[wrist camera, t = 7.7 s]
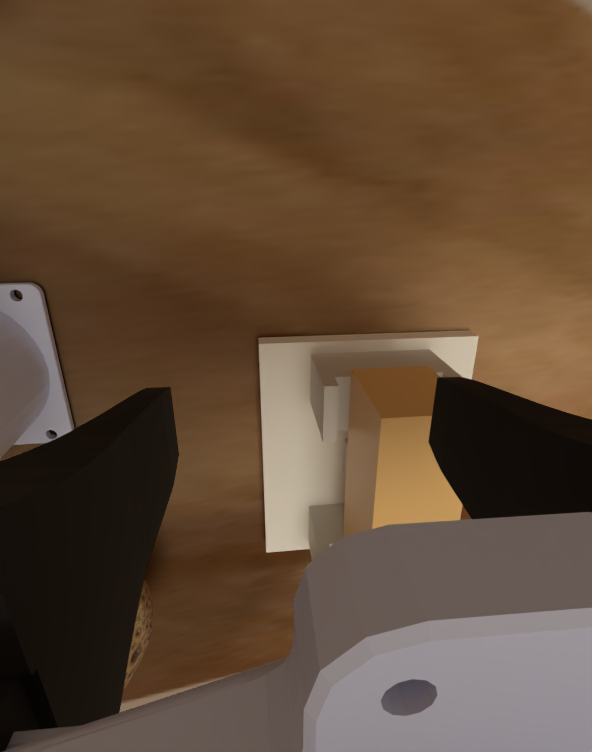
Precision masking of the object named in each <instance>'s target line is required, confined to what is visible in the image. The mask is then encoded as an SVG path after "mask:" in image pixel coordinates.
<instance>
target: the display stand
mask: <svg viewBox="0 0 592 752" xmlns="http://www.w3.org/2000/svg"><path fill="white" fill-rule="evenodd" d="M478 338H479V336H478V335H476V334H475V333H473V332H471V331H470V330H463V331H434V332H406V333H377V334H348V335H319V336H291V337H262V338H258V344H259V372H260V399H261V426H262V453H263V481H264V508H265V535H266V553H267V552H278V551H290V550H302V549H310V553H311V558H312V561H313V560H314V559H316V558H317V557H318V556H319V555H321V554H322V553H323V552H324V551H325V550H327V549H328V548H329V547H330V546H332V545H333V544H334V543H335V542H336V541H338V540H339V539H340V538H342V537H343V524H344V504H345V485H346V465H347V445H348V425H349V405H350V386H351V369H365V368H387V367H410V366H429V367H431V368H432V369H433V370H434V371H435V372H436V373H437V374H438V375H439V376H440V377H463V378H468V379H472V373H473V367H474V361H475V355H476V349H477V344H478Z"/></svg>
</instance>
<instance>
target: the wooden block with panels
mask: <svg viewBox="0 0 592 752" xmlns="http://www.w3.org/2000/svg"><path fill="white" fill-rule="evenodd" d="M438 377H440V376H439V375H438V374H437V373H436V372H435V371H434V370H433V369H432V368H431V367H429V366H410V367H387V368H365V369H351V386H350V405H349V425H348V445H347V465H346V485H345V504H344V524H343V537H345V536H349V535H352V534H356V533H360V532H363V531H367V530H371V529H374V528H378V527H382V526H385V525H391V524H406V523H422V522H438V521H454V520H460V516H461V510H462V503H461V501H460V500H459V498H458V497H457V495H456V494H455V492H454V491H453V489H452V488H451V486H450V484H449V483H448V481H447V480H446V478H445V476H444V475H443V473H442V472H441V470H440V468H439V465H438V463H437V461H436V459H435V457H434V454H433V452H432V449H431V447H430V445H429V442H428V441H429V434H430V426H431V419H432V412H433V405H434V397H435V390H436V383H437V378H438Z"/></svg>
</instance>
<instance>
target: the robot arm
mask: <svg viewBox="0 0 592 752" xmlns="http://www.w3.org/2000/svg"><path fill="white" fill-rule="evenodd" d="M14 290H18V291H20V292H21V293H22V295H23V299H22V300H21V299H18V298H17V297H16V296H15V295H14ZM49 430H53V431H55V432H56V433H57V435H52V434H51V433H50V432H49ZM428 442H429V445H430V447H431V449H432V452H433V454H434V457H435V459H436V461H437V463H438V465H439V468H440V470H441V472H442V473H443V475H444V476H445V478H446V480H447V481H448V483H449V484H450V486H451V488H452V489H453V491H454V492H455V494H456V495H457V497H458V498H459V500H460V501H461V503H462V505H463V506H464V508H465V509H466V511H467V512H468V514H469V515H470V517H471V518H472V519H470V520H454V521H438V522H422V523H406V524H391V525H385V526H382V527H378V528H374V529H371V530H367V531H363V532H360V533H356V534H352V535H349V536H345V537H342V538H340V539H339V540H338V541H336V542H335V543H334V544H333V545H332V546H330V547H329V548H328V549H327V550H325V551H324V552H323V553H322V554H321V555H319V556H318V557H317V558H316V559H314V560H313V561H312V562H311V563H310V564H308V565H307V566H306V567H305V570H304V573H303V576H302V579H301V581H300V584H299V587H298V590H297V593H296V595H295V598H294V601H293V608H294V637H293V643H292V648H291V652H290V654H289V655H288V656H287V657H286V658H284V659H281V660H278V661H275V662H272V663H269V664H265V665H262V666H259V667H256V668H253V669H250V670H247V671H244V672H241V673H238V674H235V675H232V676H229V677H226V678H223V679H220V680H217V681H214V682H211V683H208V684H205V685H202V686H199V687H196V688H193V689H190V690H187V691H184V692H181V693H178V694H175V695H172V696H169V697H166V698H163V699H160V700H157V701H154V702H151V703H148V704H145V705H142V706H139V707H136V708H132V709H129V710H126V711H123V712H120V713H119V710H120V705H121V699H122V694H123V688H124V682H125V676H126V670H127V664H128V659H129V653H130V648H131V643H132V637H133V632H134V627H135V622H136V616H137V611H138V607H139V602H140V597H141V592H142V588H143V583H144V578H145V573H146V570H147V566H148V563H149V559H150V556H151V553H152V550H153V546H154V543H155V540H156V537H157V534H158V531H159V528H160V525H161V522H162V519H163V516H164V513H165V510H166V507H167V504H168V501H169V498H170V495H171V492H172V488H173V485H174V480H175V474H176V468H177V462H178V456H179V452H178V444H177V436H176V428H175V420H174V412H173V404H172V396H171V388H170V387H162V388H146V389H143V390H141V391H139V392H137V393H135V394H134V395H132V396H130V397H129V398H127V399H125V400H124V401H122V402H120V403H119V404H117V405H116V406H114V407H112V408H111V409H109V410H107V411H106V412H104V413H102V414H101V415H99V416H97V417H96V418H94V419H92V420H90V421H88V422H87V423H85V424H83V425H81V426H79V427H78V428H76V429H74V424H73V420H72V416H71V411H70V407H69V402H68V398H67V394H66V389H65V385H64V381H63V376H62V372H61V367H60V363H59V359H58V354H57V350H56V346H55V341H54V337H53V332H52V328H51V324H50V319H49V315H48V310H47V306H46V302H45V297H44V293H43V291H42V289H41V288H40V287H39V286H38V285H36V284H35V283H30V282H23V283H0V458H1V457H2V456H3V455H4V454H5V453H6V452H7V451H8V450H9V449H10V447H11V446H12V445H21V444H39V443H46V444H43V445H41V446H39V447H36V448H34V449H32V450H30V451H27V452H25V453H22V454H20V455H17V456H14V457H11V458H8V459H6V460H3V461H0V752H592V420H591V419H587V418H583V417H580V416H576V415H573V414H569V413H566V412H563V411H560V410H557V409H554V408H551V407H548V406H545V405H542V404H539V403H536V402H533V401H530V400H528V399H525V398H522V397H519V396H517V395H514V394H511V393H508V392H506V391H503V390H500V389H498V388H495V387H492V386H489V385H487V384H484V383H481V382H478V381H475V380H471V379H468V378H463V377H438V378H437V383H436V390H435V397H434V405H433V412H432V419H431V426H430V434H429V441H428Z"/></svg>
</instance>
